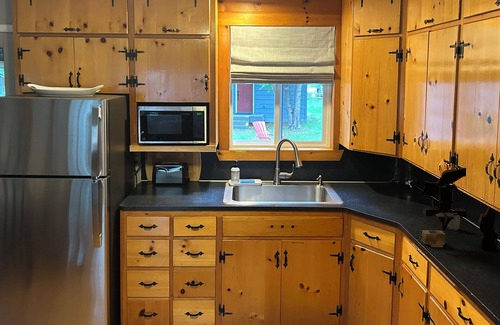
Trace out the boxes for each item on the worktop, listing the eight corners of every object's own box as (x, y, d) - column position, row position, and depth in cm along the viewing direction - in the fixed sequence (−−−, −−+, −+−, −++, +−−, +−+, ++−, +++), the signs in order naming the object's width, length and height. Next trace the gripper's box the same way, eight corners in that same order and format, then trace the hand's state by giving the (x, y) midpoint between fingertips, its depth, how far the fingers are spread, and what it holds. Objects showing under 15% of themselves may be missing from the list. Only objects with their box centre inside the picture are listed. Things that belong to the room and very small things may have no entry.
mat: (437, 240, 268) (437, 239, 268) (443, 247, 259) (443, 246, 259) (426, 240, 269) (426, 239, 269) (431, 246, 259) (432, 245, 259)
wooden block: (441, 230, 265) (422, 229, 266) (445, 233, 260) (425, 233, 260) (440, 240, 266) (421, 240, 267) (444, 244, 260) (425, 244, 261)
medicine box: (440, 227, 291) (441, 211, 289) (444, 226, 294) (446, 210, 292) (455, 231, 285) (456, 214, 284) (459, 229, 288) (460, 212, 287)
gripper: (461, 194, 267) (458, 226, 270) (421, 193, 268) (419, 224, 271) (468, 199, 256) (465, 232, 259) (427, 198, 257) (424, 231, 260)
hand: (443, 230), depth 262 cm, fingers closed
